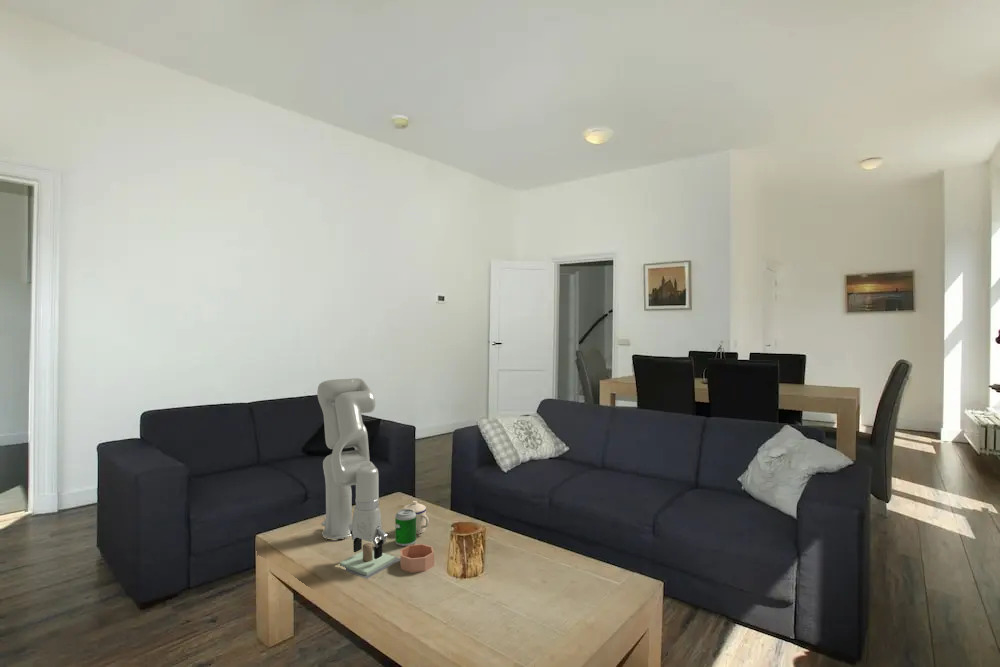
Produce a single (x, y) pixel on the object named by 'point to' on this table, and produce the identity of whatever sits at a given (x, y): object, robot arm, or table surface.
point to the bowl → (417, 558)
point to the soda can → (405, 527)
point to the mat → (374, 571)
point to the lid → (367, 561)
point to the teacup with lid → (419, 516)
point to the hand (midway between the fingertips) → (367, 554)
